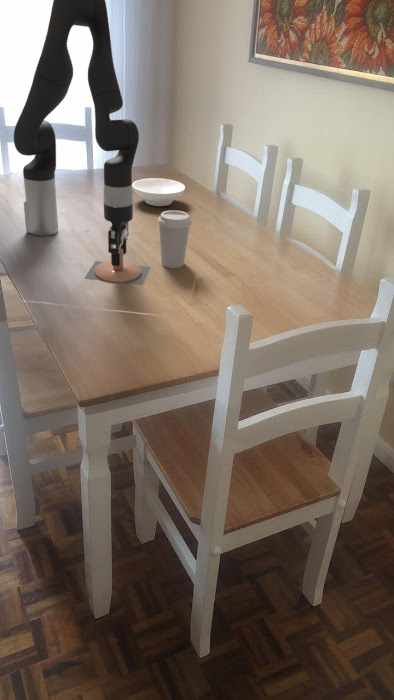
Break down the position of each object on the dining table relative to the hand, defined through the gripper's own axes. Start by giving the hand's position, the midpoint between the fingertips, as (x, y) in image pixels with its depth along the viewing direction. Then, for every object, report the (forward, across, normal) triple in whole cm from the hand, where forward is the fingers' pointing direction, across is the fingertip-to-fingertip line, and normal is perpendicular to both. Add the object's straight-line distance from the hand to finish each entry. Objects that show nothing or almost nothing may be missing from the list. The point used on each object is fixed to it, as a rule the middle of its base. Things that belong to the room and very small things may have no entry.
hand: (119, 259), depth 157 cm
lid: (+4, 0, 0) cm, 4 cm away
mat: (+4, 0, 0) cm, 4 cm away
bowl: (+4, -65, +1) cm, 65 cm away
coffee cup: (+5, -10, +14) cm, 18 cm away
